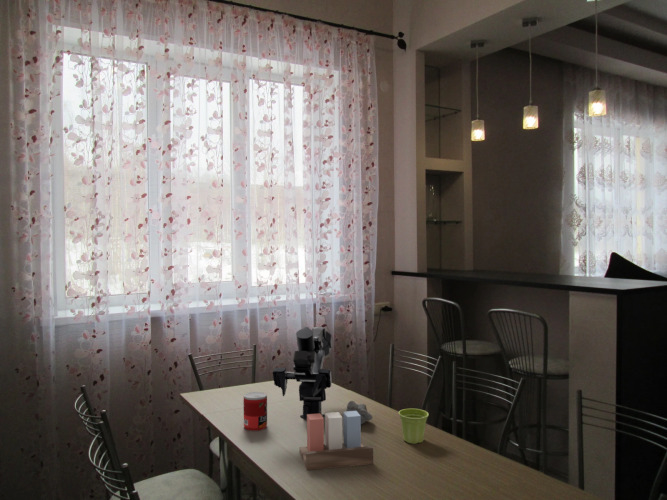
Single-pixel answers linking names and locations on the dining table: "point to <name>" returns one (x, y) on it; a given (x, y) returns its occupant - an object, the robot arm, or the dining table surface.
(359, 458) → the wooden block stand
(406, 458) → the dining table surface
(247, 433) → the dining table surface
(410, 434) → the plant pot
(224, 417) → the dining table surface
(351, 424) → the light blue tall block
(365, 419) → the fossil
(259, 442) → the dining table surface
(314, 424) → the red rectangular block
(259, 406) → the canned food
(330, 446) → the white tall block
